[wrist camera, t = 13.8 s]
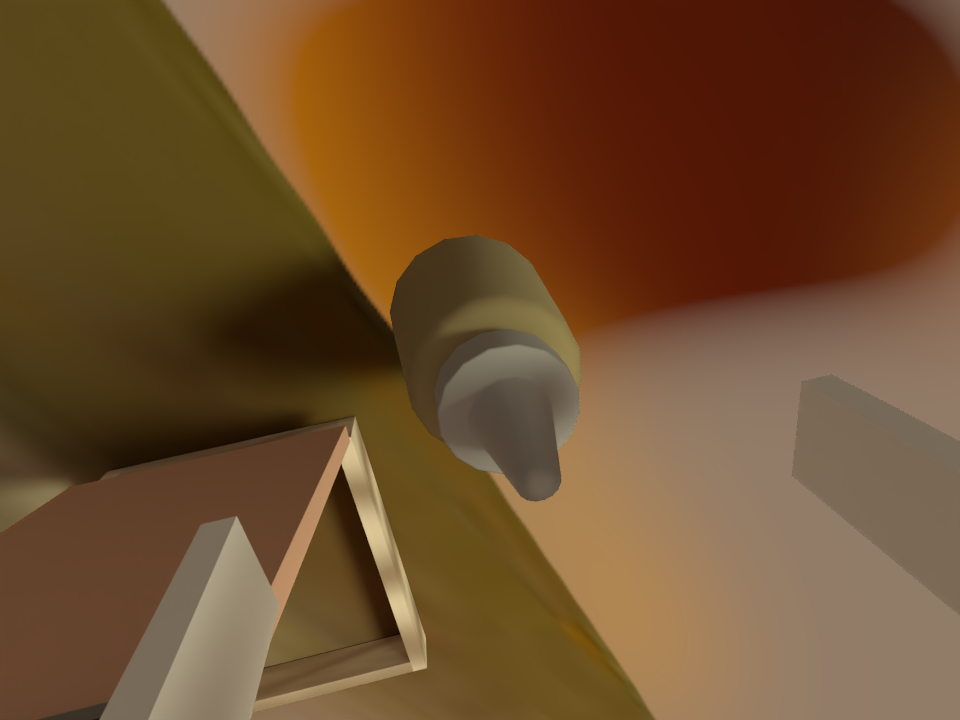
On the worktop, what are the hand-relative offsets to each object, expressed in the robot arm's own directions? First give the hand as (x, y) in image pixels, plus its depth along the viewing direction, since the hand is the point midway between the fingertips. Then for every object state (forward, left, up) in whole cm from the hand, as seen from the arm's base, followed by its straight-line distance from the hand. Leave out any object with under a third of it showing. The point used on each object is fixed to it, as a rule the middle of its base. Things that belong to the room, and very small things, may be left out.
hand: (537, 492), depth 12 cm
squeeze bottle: (0, 0, -19) cm, 19 cm away
